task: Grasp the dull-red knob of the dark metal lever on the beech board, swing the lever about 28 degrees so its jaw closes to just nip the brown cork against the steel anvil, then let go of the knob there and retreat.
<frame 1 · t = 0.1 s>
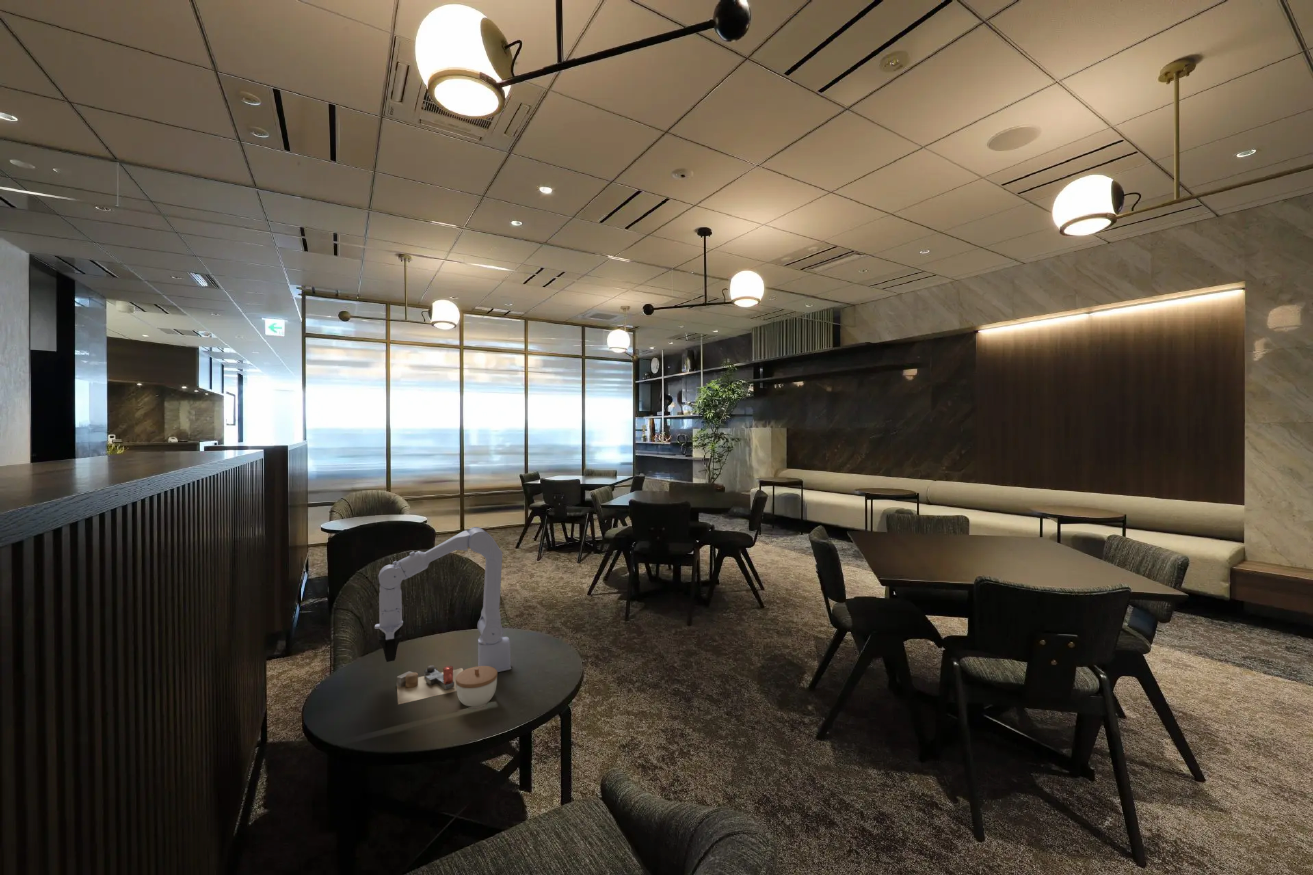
hand: (391, 655, 145), 10 cm above the table, fingers open, 7 cm apart
cork: (411, 685, 145), point 1 cm above the table, touching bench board
lidded jar: (477, 703, 138), on the table
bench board: (432, 688, 146), on the table
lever: (430, 680, 151), resting on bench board, hinge at 0.0°
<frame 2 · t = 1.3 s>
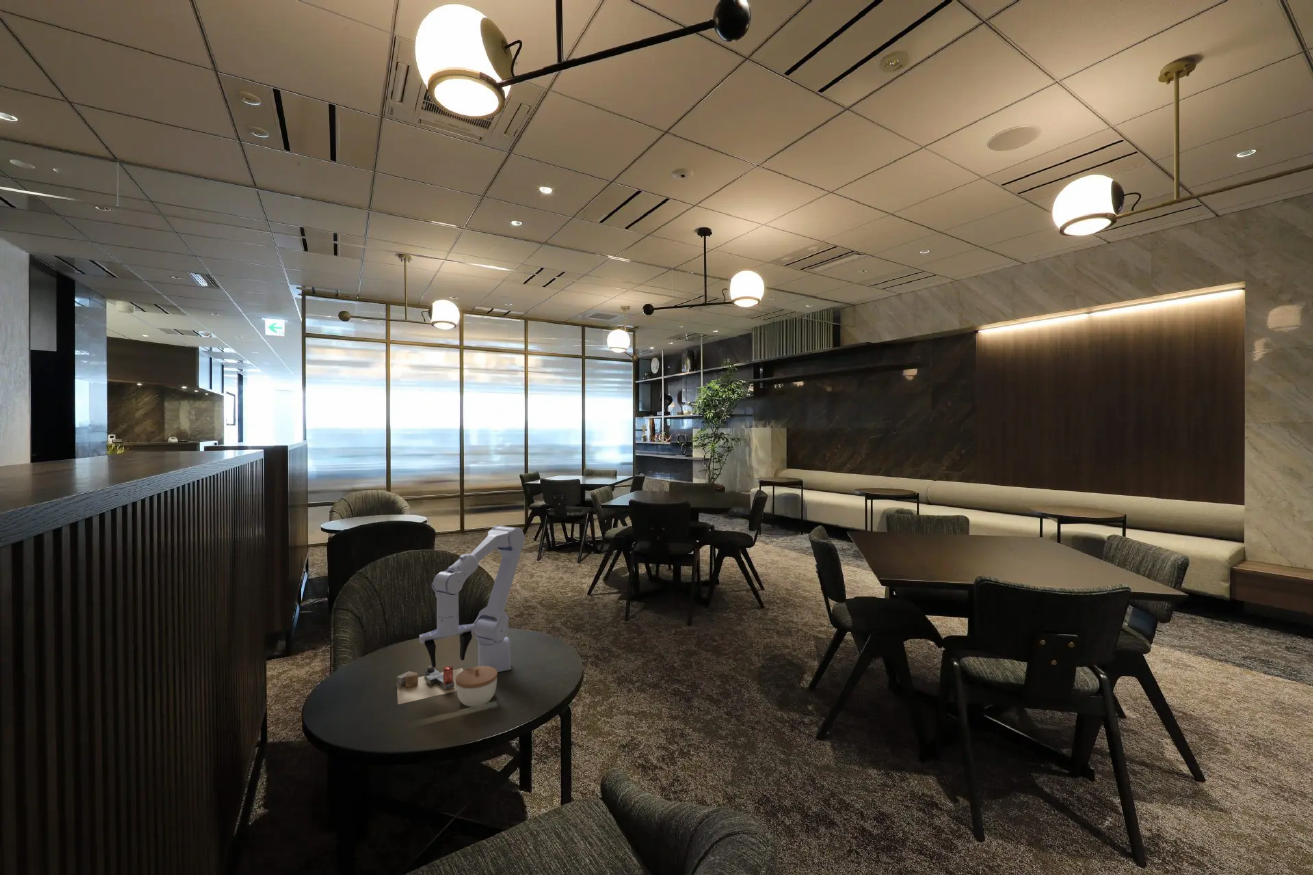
hand: (448, 662, 143), 9 cm above the table, fingers open, 7 cm apart
nothing on the table moved.
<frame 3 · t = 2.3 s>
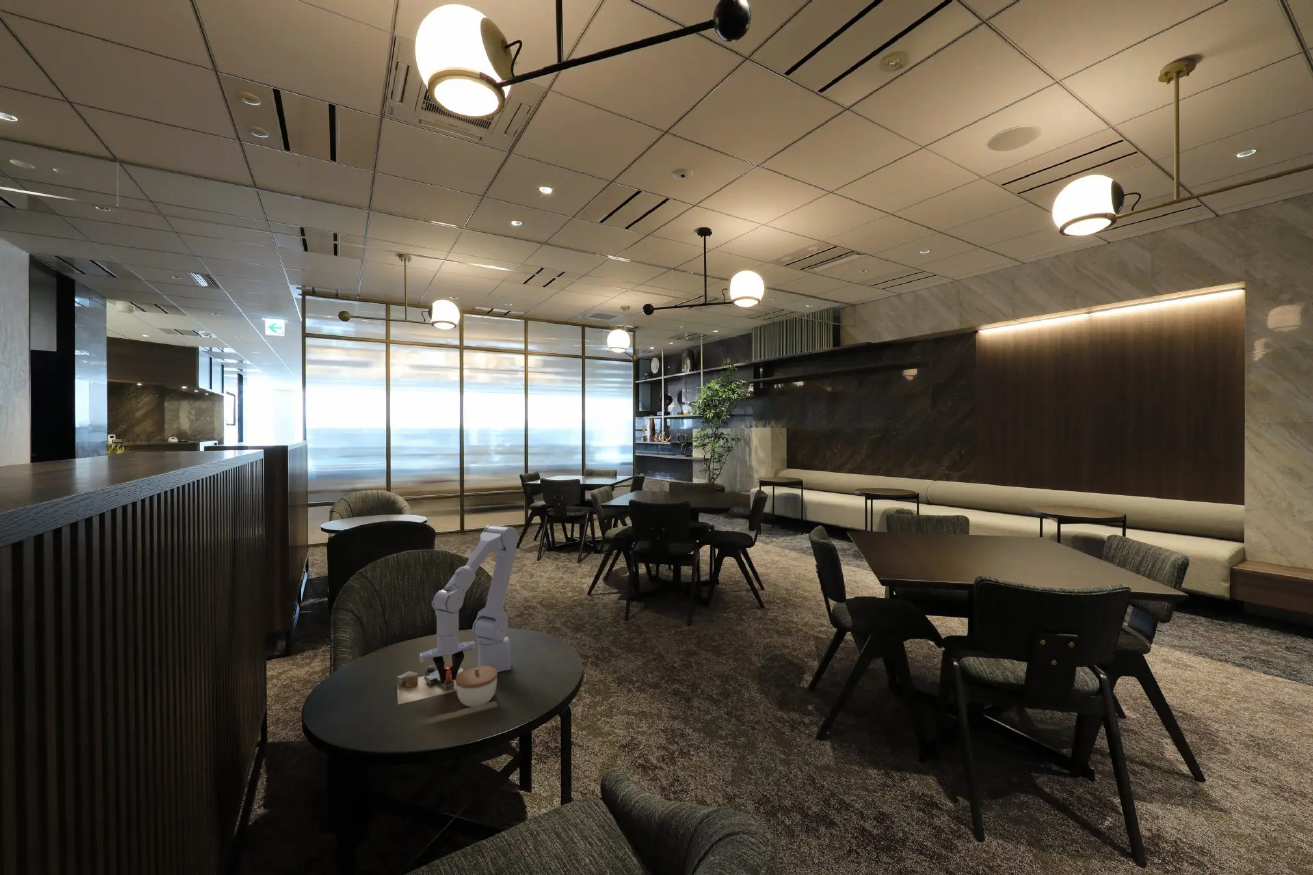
hand: (448, 680, 144), 3 cm above the table, fingers open, 3 cm apart
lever: (430, 680, 151), resting on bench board, hinge at 0.0°, touching gripper
everything else where it was.
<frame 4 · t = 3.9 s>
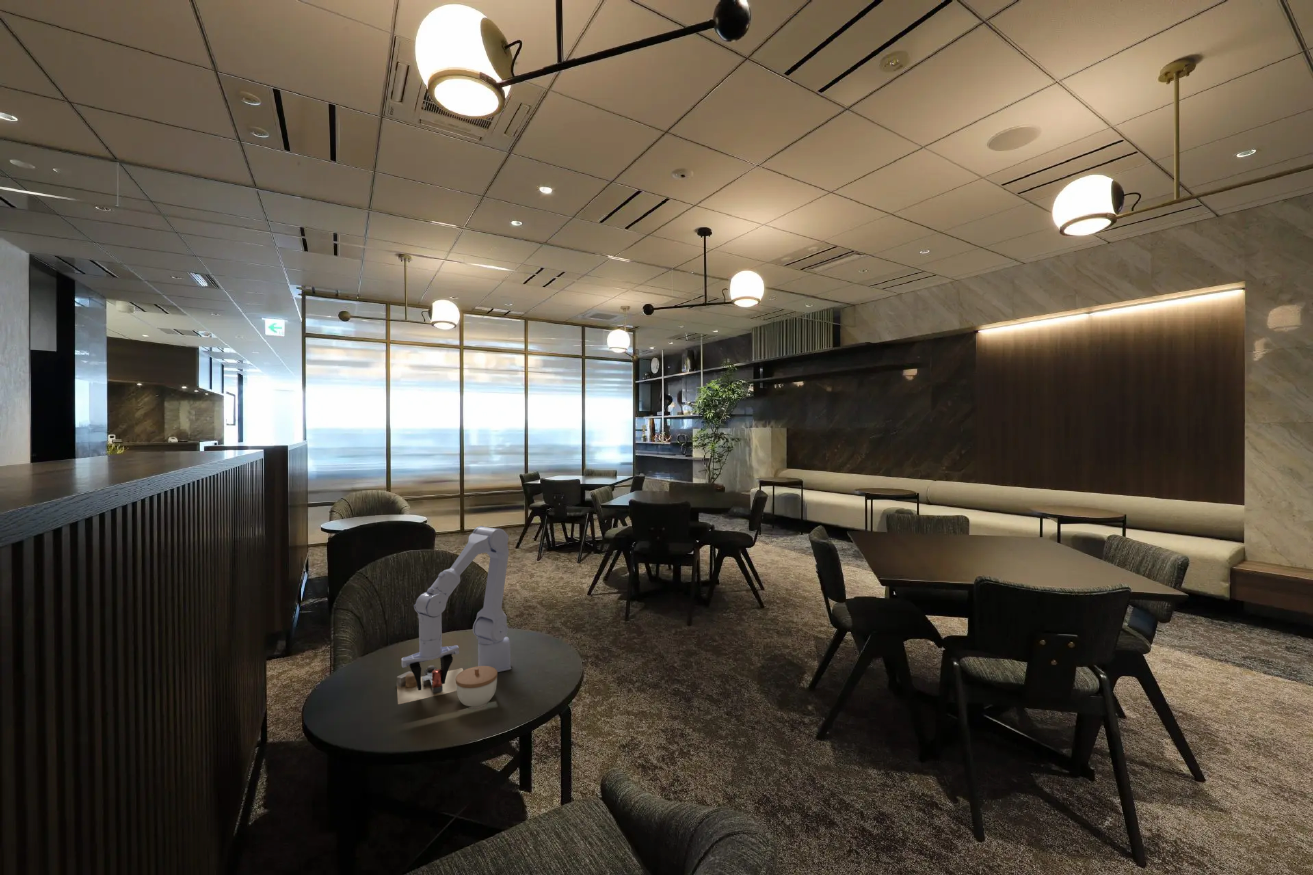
hand: (431, 685, 141), 3 cm above the table, fingers open, 5 cm apart
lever: (430, 680, 151), resting on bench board, hinge at 15.7°, touching gripper
everything else where it was.
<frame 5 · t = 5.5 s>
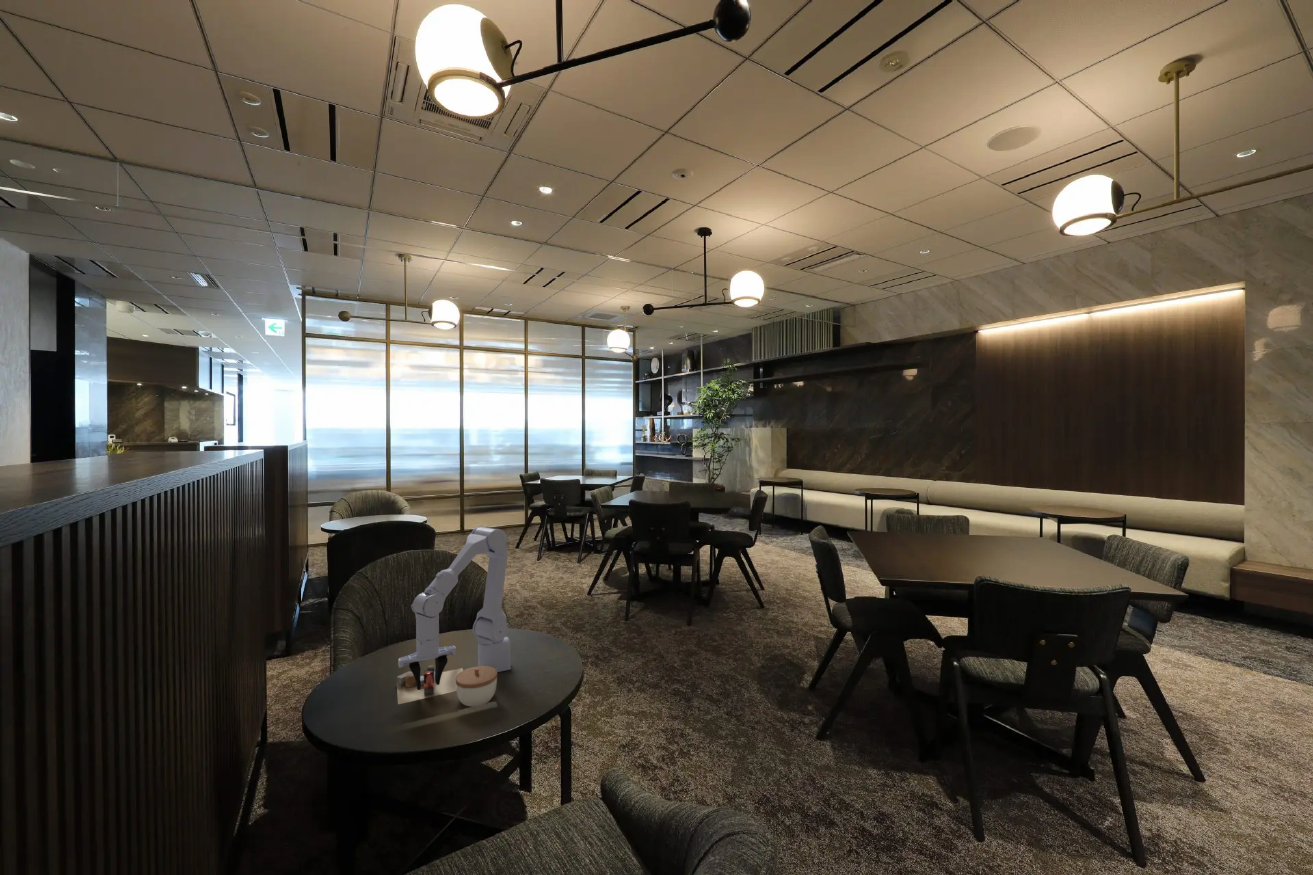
hand: (428, 685, 141), 3 cm above the table, fingers open, 4 cm apart
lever: (430, 680, 151), resting on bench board, hinge at 26.6°
everything else where it was.
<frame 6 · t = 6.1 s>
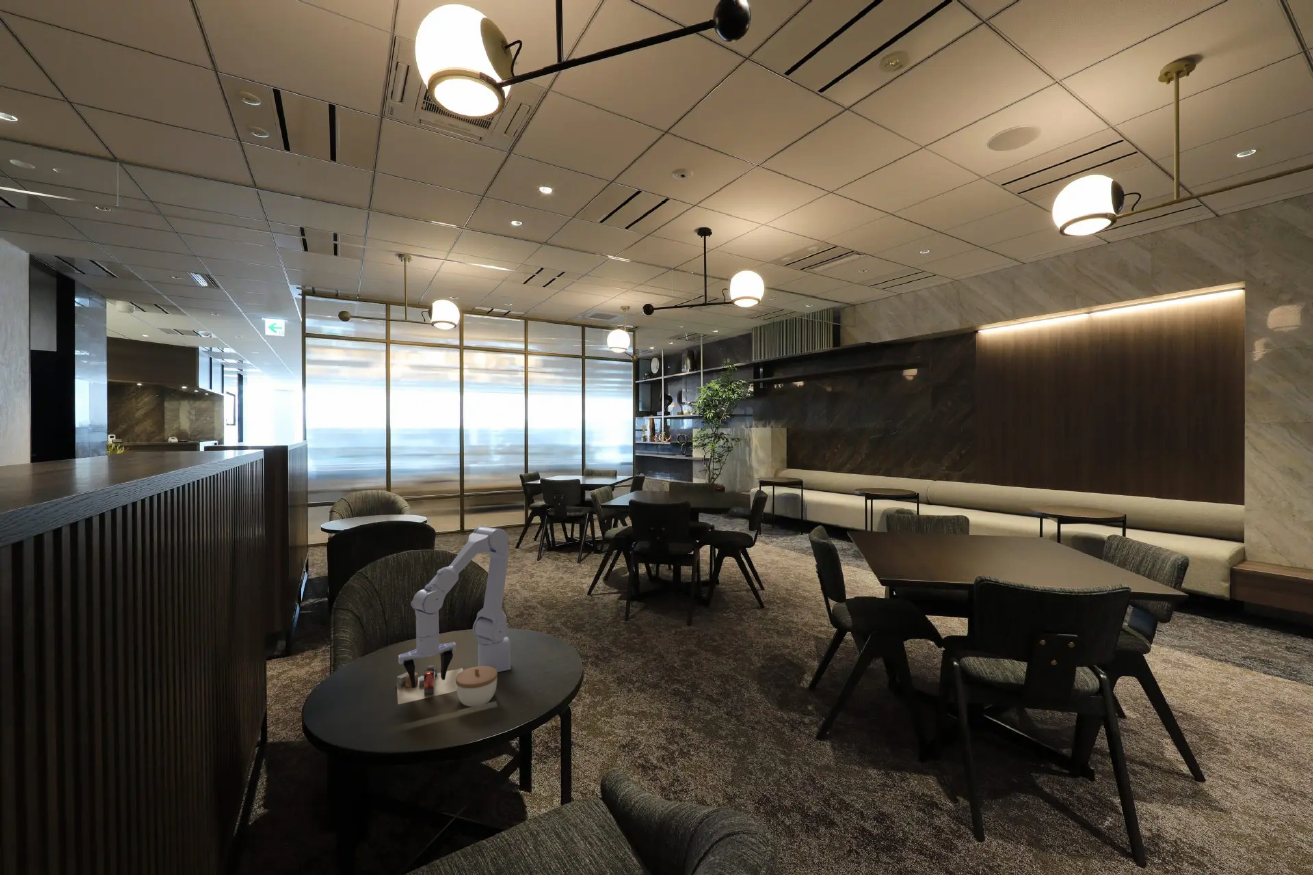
hand: (428, 682, 141), 4 cm above the table, fingers open, 7 cm apart
nothing on the table moved.
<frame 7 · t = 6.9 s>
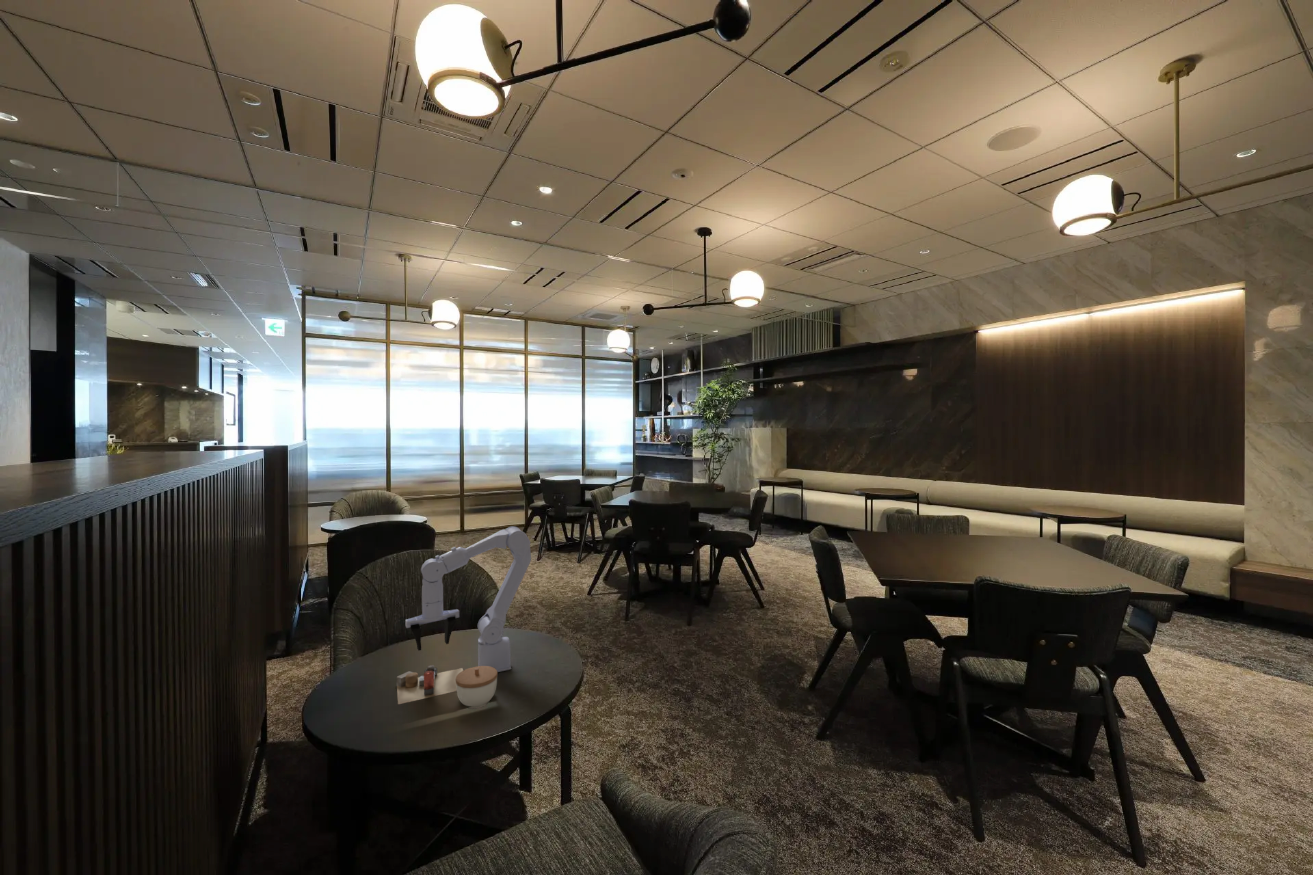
hand: (433, 645, 150), 10 cm above the table, fingers open, 7 cm apart
nothing on the table moved.
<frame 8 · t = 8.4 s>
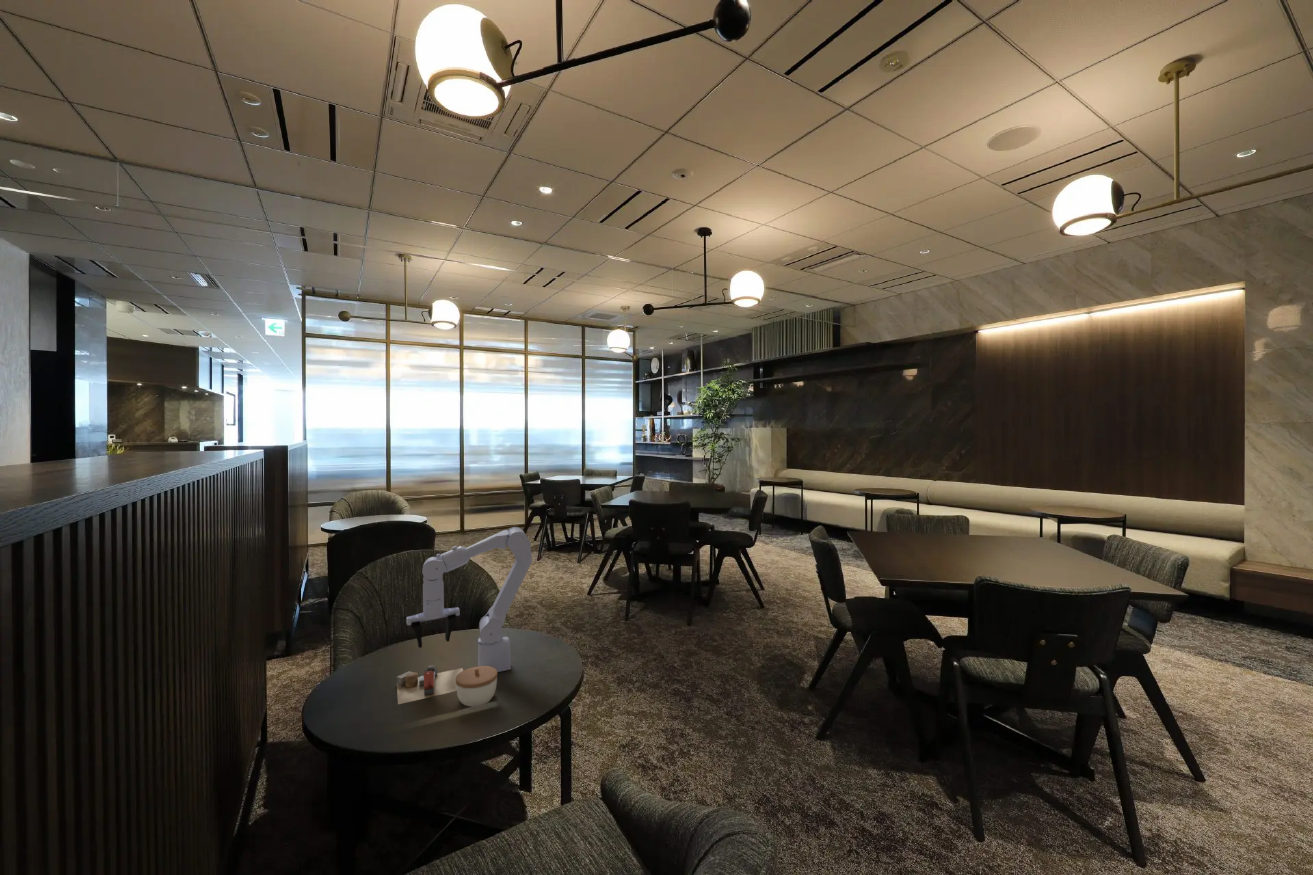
hand: (433, 643, 152), 10 cm above the table, fingers open, 7 cm apart
nothing on the table moved.
at the end: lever at +27° (first picture: +0°); the gripper is holding nothing; cork moved 0.1 cm from its start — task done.
